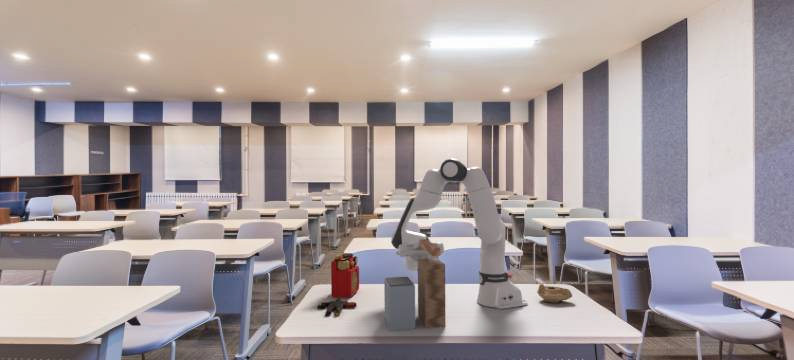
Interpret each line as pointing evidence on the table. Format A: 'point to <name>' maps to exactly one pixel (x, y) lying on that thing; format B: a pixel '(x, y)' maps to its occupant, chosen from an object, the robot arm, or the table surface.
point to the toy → (336, 306)
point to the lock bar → (430, 247)
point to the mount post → (431, 292)
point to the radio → (344, 276)
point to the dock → (399, 303)
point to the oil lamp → (553, 293)
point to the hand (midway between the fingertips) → (424, 243)
